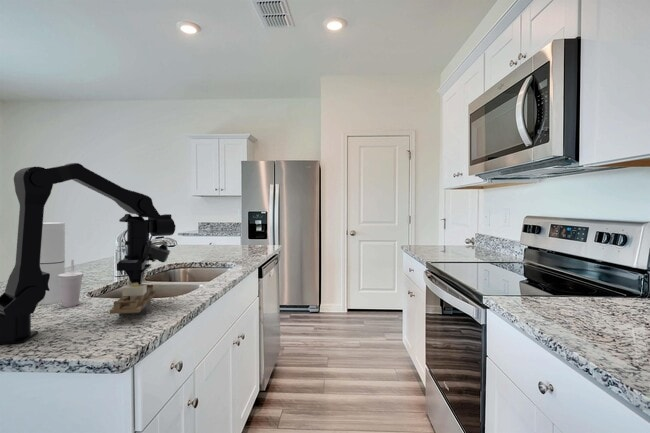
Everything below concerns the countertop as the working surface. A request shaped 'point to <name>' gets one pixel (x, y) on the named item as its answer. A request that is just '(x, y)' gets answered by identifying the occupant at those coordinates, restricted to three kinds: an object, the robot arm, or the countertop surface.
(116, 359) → the countertop surface
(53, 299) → the cylindrical container
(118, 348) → the countertop surface
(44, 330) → the countertop surface
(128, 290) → the block
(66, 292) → the smoothie
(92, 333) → the countertop surface
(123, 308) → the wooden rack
